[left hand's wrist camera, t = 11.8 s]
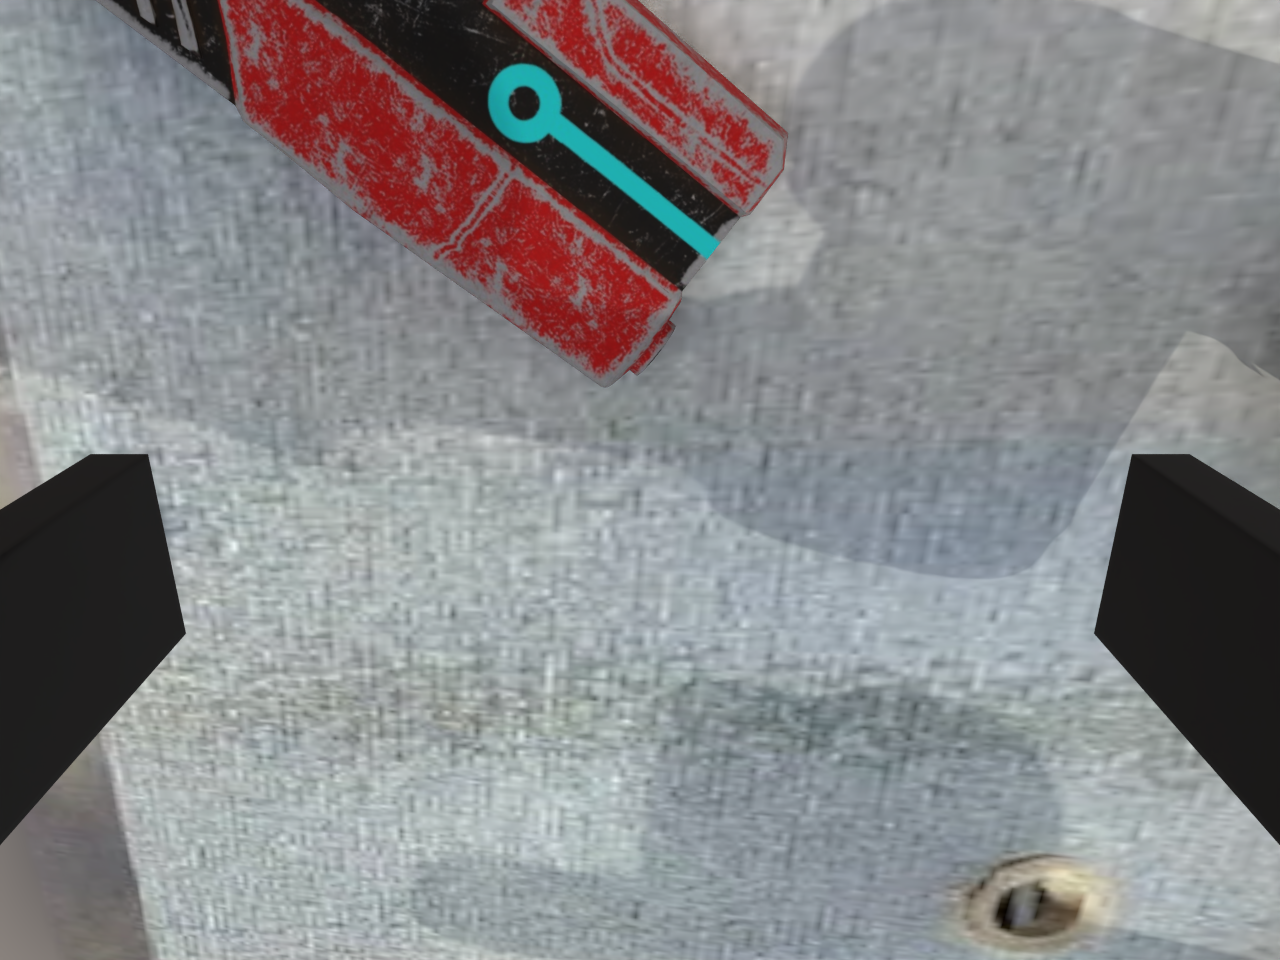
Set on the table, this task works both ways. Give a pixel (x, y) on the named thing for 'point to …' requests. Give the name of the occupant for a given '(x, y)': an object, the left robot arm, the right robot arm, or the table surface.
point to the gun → (502, 145)
